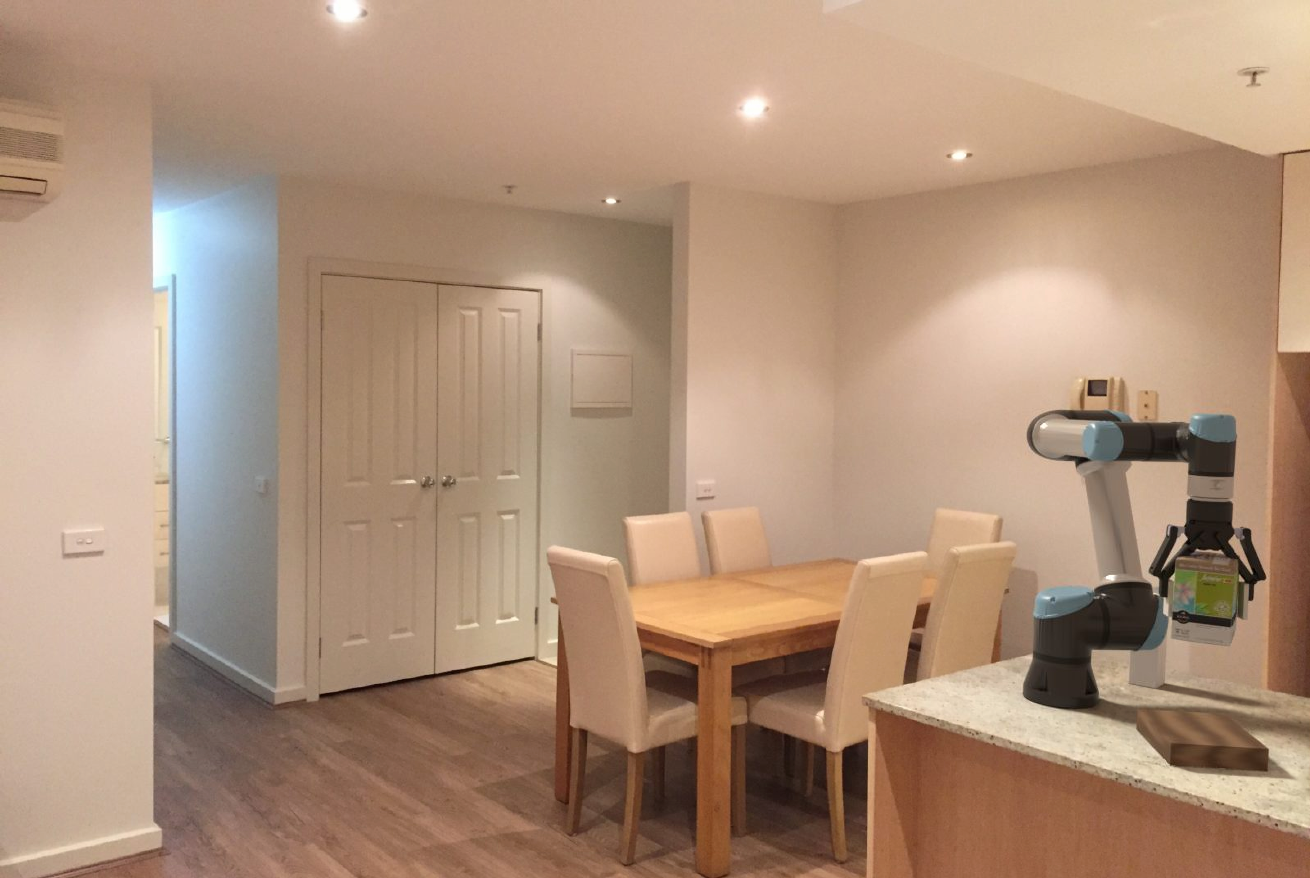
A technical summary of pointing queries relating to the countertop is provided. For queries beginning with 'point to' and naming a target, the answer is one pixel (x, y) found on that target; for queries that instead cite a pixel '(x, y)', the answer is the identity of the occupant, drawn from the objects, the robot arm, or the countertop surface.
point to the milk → (1148, 663)
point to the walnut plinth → (1201, 740)
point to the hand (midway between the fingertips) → (1204, 617)
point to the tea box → (1205, 598)
